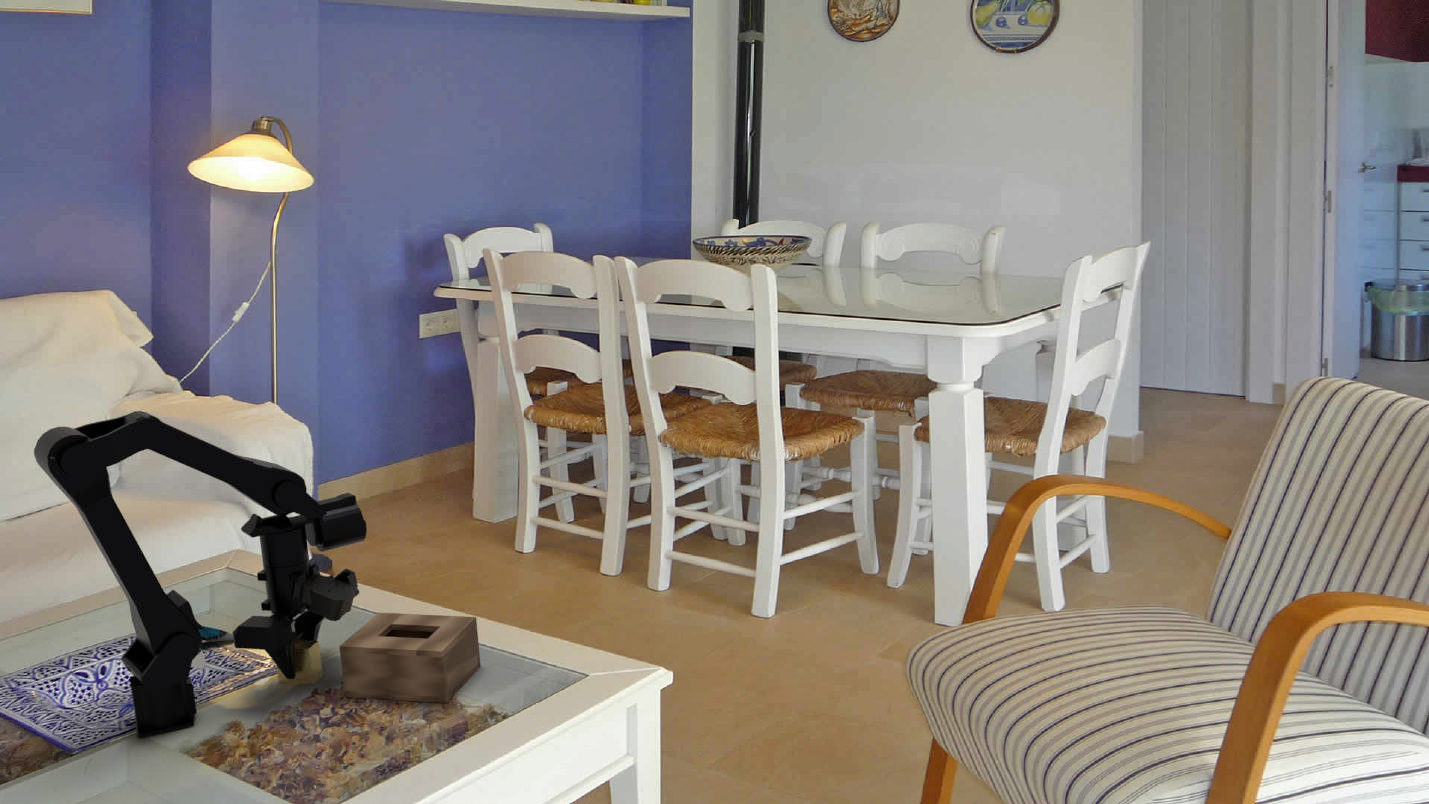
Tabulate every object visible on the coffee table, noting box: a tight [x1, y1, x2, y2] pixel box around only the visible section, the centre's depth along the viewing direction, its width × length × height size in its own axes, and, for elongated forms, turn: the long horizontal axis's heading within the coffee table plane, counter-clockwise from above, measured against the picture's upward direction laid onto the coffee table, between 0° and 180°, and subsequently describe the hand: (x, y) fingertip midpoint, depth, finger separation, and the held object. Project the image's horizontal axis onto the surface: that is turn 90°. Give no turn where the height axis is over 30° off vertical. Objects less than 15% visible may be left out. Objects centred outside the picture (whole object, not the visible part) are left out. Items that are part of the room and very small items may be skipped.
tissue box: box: [338, 612, 482, 704], centre depth 164 cm, size 14×11×7 cm
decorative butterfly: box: [191, 611, 234, 670], centre depth 176 cm, size 10×6×10 cm
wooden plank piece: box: [276, 640, 323, 685], centre depth 166 cm, size 5×2×5 cm, turn 78°
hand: (299, 671), depth 166 cm, fingers open, 4 cm apart
